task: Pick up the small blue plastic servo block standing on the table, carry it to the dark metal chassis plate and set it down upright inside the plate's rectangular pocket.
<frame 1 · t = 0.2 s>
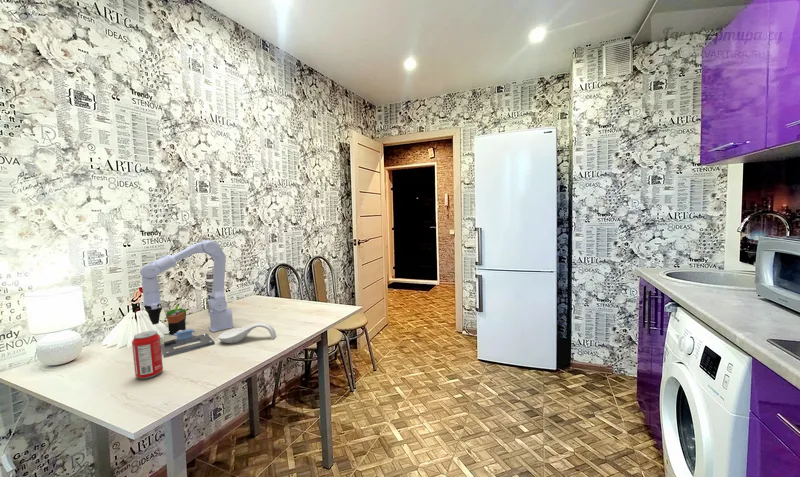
hand: (154, 321, 147), 10 cm above the table, tool pointing down, fingers open, 7 cm apart
bell pepper: (177, 325, 172), on the table
soda can: (149, 375, 118), on the table
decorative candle: (217, 313, 191), on the table
spoon rest: (247, 340, 149), on the table
chassis: (187, 345, 144), on the table
servo: (184, 338, 153), on the table
battery: (177, 332, 161), on the table
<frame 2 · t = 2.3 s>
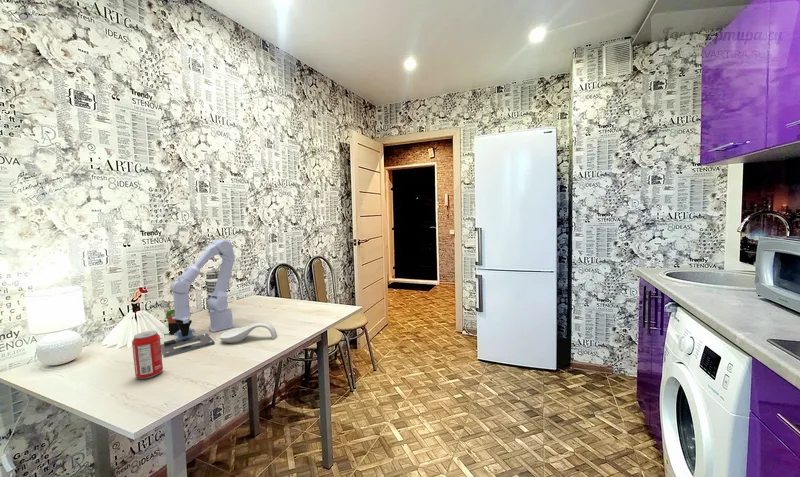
hand: (184, 335, 153), 1 cm above the table, tool pointing down, fingers closed on servo, 3 cm apart
servo: (185, 337, 153), on the table, touching gripper
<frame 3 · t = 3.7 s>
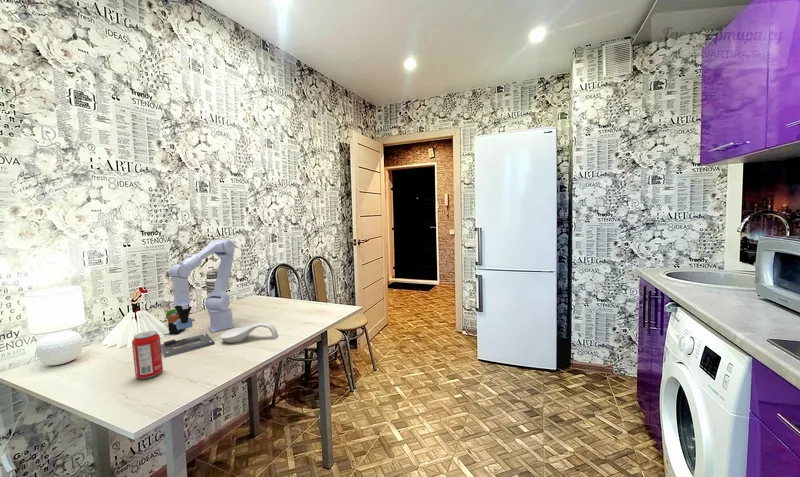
hand: (184, 322, 146), 10 cm above the table, tool pointing down, fingers closed on servo, 3 cm apart
servo: (184, 327, 147), point 7 cm above the table, touching gripper
when the fingers open (3 cm above the table, at t = 5.6 s): servo stays where it is, resting in chassis.
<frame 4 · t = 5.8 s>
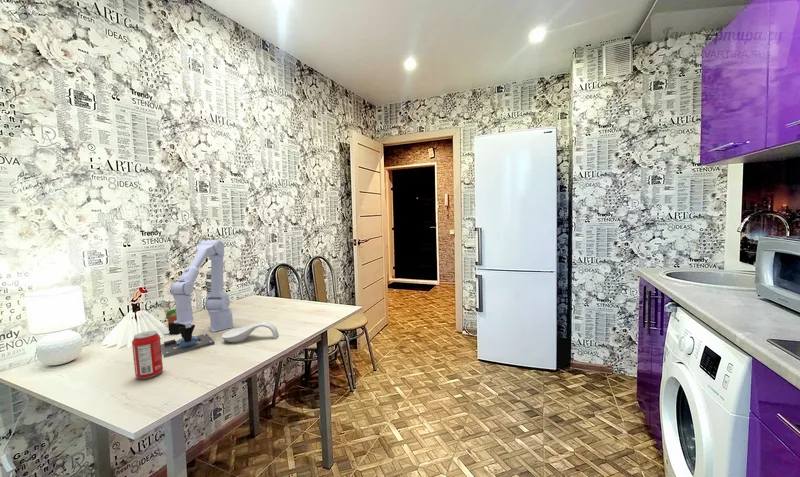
hand: (186, 340, 143), 3 cm above the table, tool pointing down, fingers open, 5 cm apart
servo: (187, 346, 144), resting in chassis
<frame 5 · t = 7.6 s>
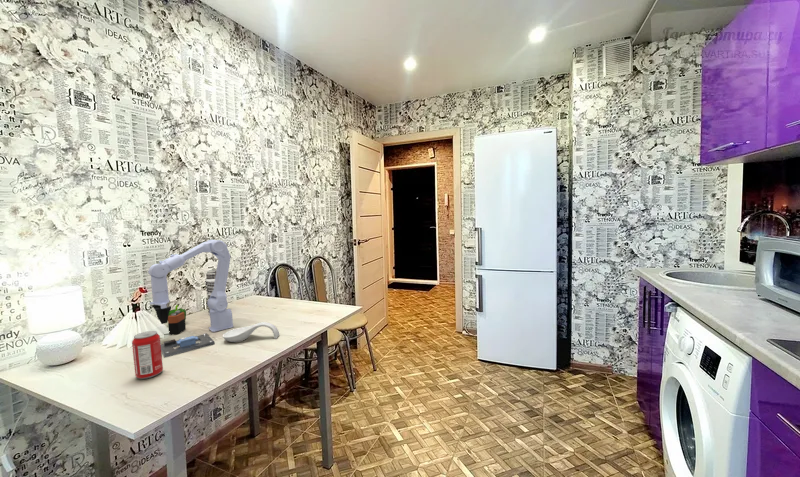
hand: (162, 321, 147), 10 cm above the table, tool pointing down, fingers open, 7 cm apart
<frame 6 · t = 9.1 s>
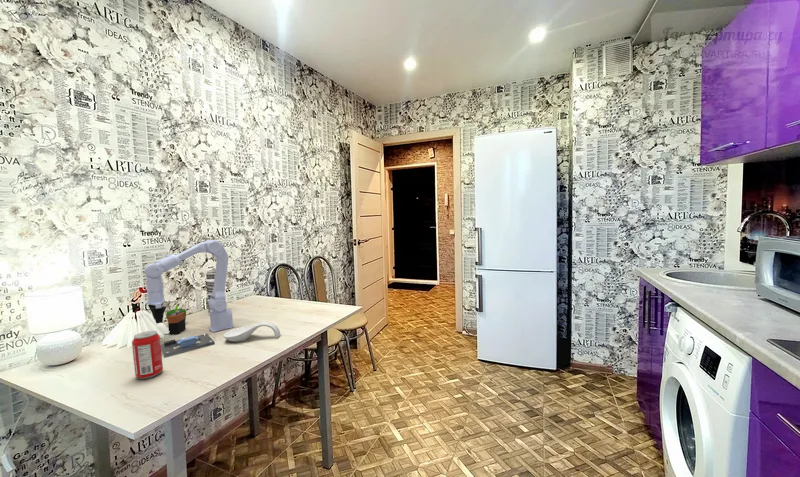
hand: (158, 320, 148), 10 cm above the table, tool pointing down, fingers open, 7 cm apart
at the end: servo 0.4 cm off-centre on the chassis, point 0.0 cm above the chassis's base; servo tilted 0°; the gripper is holding nothing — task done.
